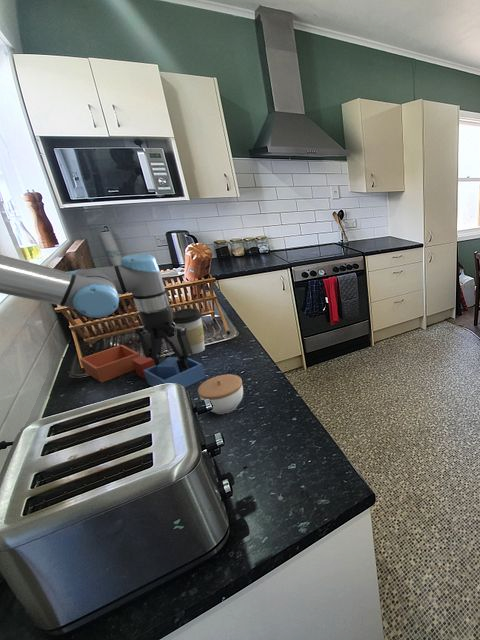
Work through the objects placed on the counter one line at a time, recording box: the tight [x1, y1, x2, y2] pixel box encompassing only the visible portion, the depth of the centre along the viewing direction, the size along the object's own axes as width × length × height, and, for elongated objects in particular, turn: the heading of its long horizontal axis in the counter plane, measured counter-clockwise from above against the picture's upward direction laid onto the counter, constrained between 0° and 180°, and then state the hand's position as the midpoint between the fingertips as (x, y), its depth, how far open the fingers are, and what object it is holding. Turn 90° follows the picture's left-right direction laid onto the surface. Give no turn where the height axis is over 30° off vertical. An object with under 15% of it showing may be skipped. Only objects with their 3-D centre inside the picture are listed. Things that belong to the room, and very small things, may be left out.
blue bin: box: [143, 357, 207, 388], centre depth 109 cm, size 11×11×5 cm
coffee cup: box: [172, 307, 206, 355], centre depth 125 cm, size 10×10×15 cm
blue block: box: [156, 356, 189, 380], centre depth 108 cm, size 6×6×6 cm
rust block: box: [132, 354, 155, 380], centre depth 112 cm, size 6×6×6 cm
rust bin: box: [79, 344, 141, 383], centre depth 114 cm, size 11×11×5 cm
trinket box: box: [197, 373, 244, 415], centre depth 97 cm, size 11×11×9 cm
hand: (175, 376), depth 109 cm, fingers closed on blue block, 5 cm apart
